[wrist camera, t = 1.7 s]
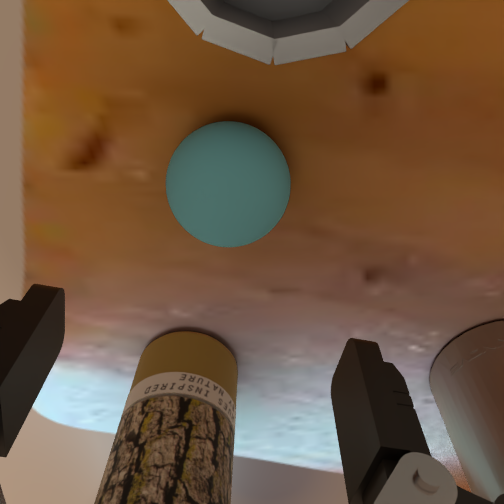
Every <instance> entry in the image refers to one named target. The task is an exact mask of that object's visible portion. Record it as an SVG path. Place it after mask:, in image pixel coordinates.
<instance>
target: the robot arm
mask: <svg viewBox="0 0 504 504" xmlns="http://www.w3.org/2000/svg"><path fill="white" fill-rule="evenodd" d="M64 333H65V293H64V289H63V288H57V287H51V286H46V285H40V284H33V285H32V286H31V287H30V289H29V290H28V292H27V293H26V295H25V296H24V297H23V299H22V300H21V301H19V300H12V299H8V300H7V301H5V302H4V303H2V304H0V457H7V454H8V453H9V451H10V448H11V447H12V445H13V443H14V441H15V439H16V437H17V435H18V433H19V431H20V429H21V427H22V425H23V423H24V421H25V419H26V417H27V415H28V413H29V411H30V409H31V408H32V406H33V404H34V402H35V400H36V398H37V396H38V394H39V392H40V390H41V388H42V386H43V384H44V382H45V380H46V378H47V376H48V374H49V372H50V370H51V368H52V367H53V365H54V363H55V361H56V359H57V357H58V355H59V353H60V350H61V347H62V344H63V340H64ZM429 381H430V387H431V391H432V394H433V396H434V399H435V401H436V404H437V406H438V409H439V411H440V414H441V416H442V419H443V421H444V424H445V426H446V429H447V431H448V434H449V437H450V439H451V442H452V444H453V447H454V449H455V452H456V454H457V457H458V459H459V462H460V464H461V467H462V469H463V472H464V474H465V477H466V479H467V482H468V484H469V487H470V489H471V492H472V493H471V492H468V491H466V490H464V489H462V488H460V487H458V486H457V485H456V483H455V480H454V478H453V476H452V475H451V473H450V472H449V471H448V470H447V468H446V467H445V466H444V465H442V464H441V463H440V462H439V461H437V460H436V459H434V458H433V457H431V454H430V451H429V448H428V445H427V443H426V440H425V437H424V434H423V431H422V428H421V425H420V422H419V420H418V417H417V414H416V411H415V409H413V407H414V405H413V402H412V399H411V396H409V391H408V388H407V385H406V382H405V379H404V377H403V376H402V375H401V373H400V372H399V371H398V370H397V368H396V367H395V366H394V365H393V363H389V362H384V361H383V358H382V355H381V352H380V348H379V346H378V344H377V343H376V342H372V341H367V340H361V339H355V338H350V339H349V340H348V341H347V343H346V346H345V348H344V351H343V353H342V356H341V358H340V360H339V363H338V365H337V368H336V370H335V373H334V375H333V379H332V384H331V399H332V405H333V411H334V417H335V423H336V429H337V435H338V442H339V448H340V454H341V460H342V466H343V472H344V478H345V484H346V490H347V496H348V502H349V504H504V321H497V322H492V323H489V324H485V325H482V326H479V327H477V328H474V329H472V330H470V331H468V332H466V333H464V334H462V335H461V336H459V337H458V338H456V339H455V340H453V341H452V342H451V343H450V344H449V345H448V346H447V347H445V348H444V349H443V350H442V352H441V353H440V354H439V356H438V357H437V358H436V360H435V362H434V364H433V367H432V369H431V373H430V380H429ZM0 504H6V502H5V499H4V495H3V492H2V489H1V485H0Z"/></svg>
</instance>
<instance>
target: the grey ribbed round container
mask: <svg viewBox="0 0 504 504" xmlns="http://www.w3.org/2000/svg"><path fill="white" fill-rule="evenodd" d="M168 1H169V3H170V4H171V5H172V6H173V7H174V9H175V10H176V11H177V12H178V13H179V15H180V16H181V17H182V18H183V19H184V21H185V22H186V23H187V24H188V25H189V27H190V28H191V29H192V30H193V31H194V33H195V34H196V35H197V36H198V35H199V34H200V33H201V32H202V31H203V30H204V32H203V36H202V39H203V40H205V41H208V42H211V43H213V44H216V45H219V46H221V47H224V48H227V49H229V50H232V51H235V52H237V53H240V54H242V55H245V56H248V57H250V58H253V59H256V60H258V61H261V62H264V63H266V64H269V65H270V63H271V60H272V57H274V64H275V65H279V64H284V63H289V62H294V61H299V60H305V59H310V58H315V57H320V56H325V55H330V54H335V53H341V52H346V45H347V46H348V47H349V48H350V49H352V48H353V47H354V46H355V45H356V44H358V43H359V42H360V41H361V40H362V39H364V38H365V37H366V36H367V35H368V34H369V33H371V32H372V31H373V30H374V29H375V28H377V27H378V26H379V25H380V24H381V23H383V22H384V21H385V20H386V19H387V18H388V17H390V16H391V15H392V14H393V13H394V12H396V11H397V10H398V9H399V8H400V7H402V6H403V5H404V4H405V3H406V2H408V1H409V0H168Z"/></svg>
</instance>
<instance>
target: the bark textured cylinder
mask: <svg viewBox="0 0 504 504" xmlns="http://www.w3.org/2000/svg"><path fill="white" fill-rule="evenodd" d="M237 378H238V370H237V364H236V361H235V359H234V357H233V355H232V354H231V352H230V351H229V350H228V349H227V348H226V347H225V346H224V345H223V344H222V343H221V342H219V341H218V340H216V339H214V338H212V337H210V336H208V335H205V334H202V333H198V332H191V331H180V332H173V333H169V334H166V335H164V336H162V337H160V338H158V339H156V340H154V341H153V342H152V343H150V344H149V345H148V346H147V347H146V349H145V350H144V352H143V353H142V355H141V358H140V360H139V364H138V367H137V370H136V373H135V376H134V380H133V383H132V386H131V389H130V393H129V395H128V398H127V401H126V404H125V407H124V410H123V414H122V417H121V420H120V423H119V426H118V430H117V433H116V436H115V439H114V442H113V446H112V449H111V452H110V455H109V458H108V462H107V465H106V468H105V471H104V475H103V478H102V481H101V484H100V488H99V490H98V494H97V497H96V500H95V503H94V504H230V503H231V487H232V469H233V452H234V435H235V418H236V394H237Z"/></svg>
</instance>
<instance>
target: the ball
mask: <svg viewBox="0 0 504 504" xmlns="http://www.w3.org/2000/svg"><path fill="white" fill-rule="evenodd" d="M290 187H291V181H290V173H289V168H288V165H287V162H286V160H285V157H284V155H283V154H282V152H281V150H280V149H279V147H278V146H277V145H276V143H275V142H274V141H273V140H272V139H271V138H270V137H269V136H267V135H266V134H265V133H264V132H262V131H260V130H259V129H257V128H255V127H253V126H250V125H248V124H244V123H241V122H234V121H222V122H215V123H211V124H208V125H205V126H203V127H201V128H199V129H197V130H195V131H194V132H192V133H191V134H190V135H188V136H187V137H186V138H185V139H184V140H183V141H182V142H181V143H180V145H179V146H178V147H177V149H176V150H175V152H174V154H173V155H172V157H171V160H170V163H169V166H168V169H167V174H166V193H167V198H168V202H169V205H170V208H171V210H172V212H173V214H174V216H175V218H176V219H177V221H178V222H179V223H180V224H181V226H182V227H183V228H184V229H185V230H186V231H188V232H189V233H190V234H191V235H192V236H194V237H195V238H197V239H199V240H201V241H203V242H205V243H208V244H210V245H214V246H220V247H238V246H243V245H246V244H249V243H252V242H254V241H256V240H258V239H260V238H262V237H263V236H265V235H266V234H267V233H269V232H270V231H271V230H272V229H273V228H274V227H275V226H276V224H277V223H278V222H279V220H280V219H281V218H282V216H283V214H284V212H285V210H286V207H287V204H288V201H289V197H290Z"/></svg>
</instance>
